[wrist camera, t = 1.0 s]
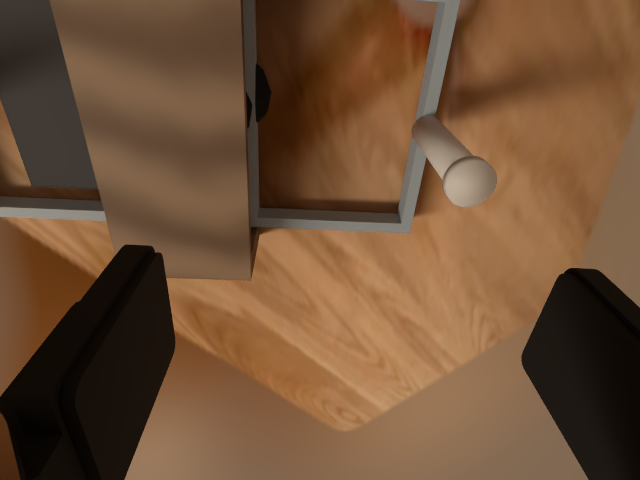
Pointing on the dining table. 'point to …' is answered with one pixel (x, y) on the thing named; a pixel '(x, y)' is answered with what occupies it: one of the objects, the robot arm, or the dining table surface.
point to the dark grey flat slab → (41, 97)
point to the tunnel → (166, 126)
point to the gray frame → (427, 141)
